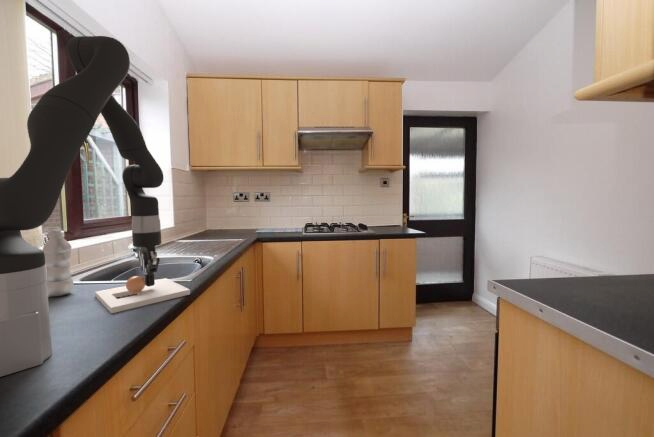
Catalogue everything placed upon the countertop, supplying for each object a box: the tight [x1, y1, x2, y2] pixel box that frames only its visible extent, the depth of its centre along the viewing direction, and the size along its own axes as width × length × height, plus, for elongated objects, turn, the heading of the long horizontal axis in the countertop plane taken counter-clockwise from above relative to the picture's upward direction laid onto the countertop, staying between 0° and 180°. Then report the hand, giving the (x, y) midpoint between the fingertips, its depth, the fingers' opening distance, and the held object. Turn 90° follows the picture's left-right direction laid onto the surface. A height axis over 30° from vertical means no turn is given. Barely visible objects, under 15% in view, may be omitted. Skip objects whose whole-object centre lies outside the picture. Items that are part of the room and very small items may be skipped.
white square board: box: [94, 277, 191, 314], centre depth 90 cm, size 20×20×2 cm
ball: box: [125, 275, 146, 293], centre depth 88 cm, size 5×5×5 cm
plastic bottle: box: [42, 230, 75, 297], centre depth 90 cm, size 6×7×20 cm
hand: (149, 285), depth 91 cm, fingers closed
